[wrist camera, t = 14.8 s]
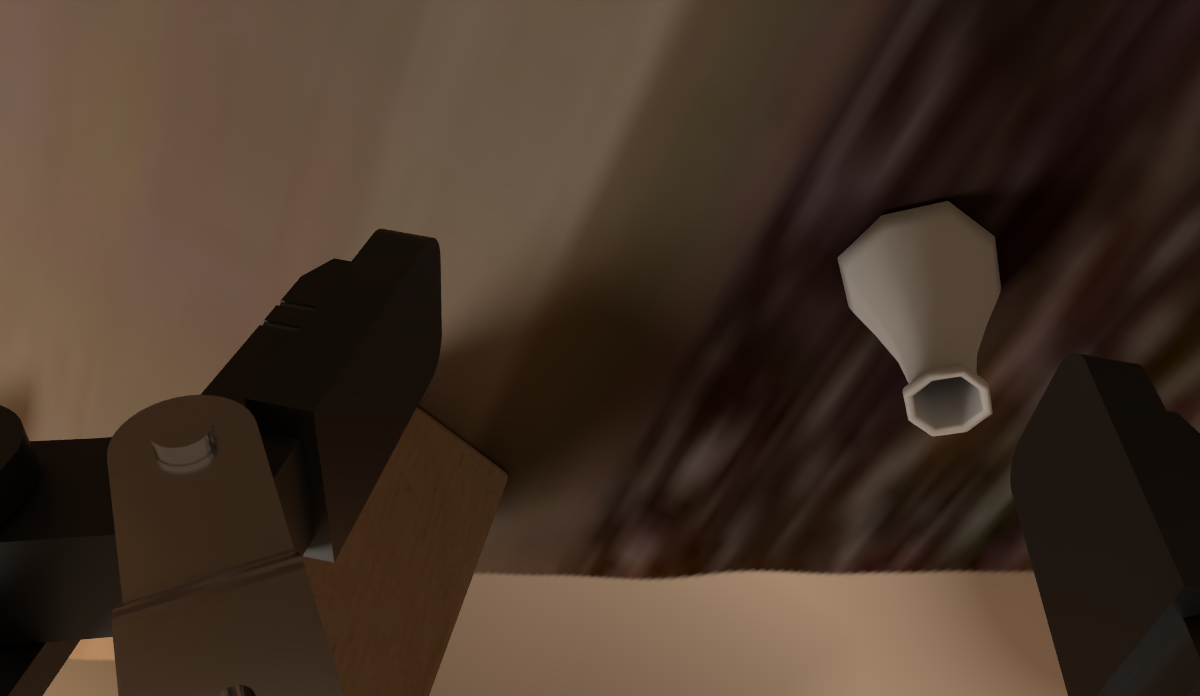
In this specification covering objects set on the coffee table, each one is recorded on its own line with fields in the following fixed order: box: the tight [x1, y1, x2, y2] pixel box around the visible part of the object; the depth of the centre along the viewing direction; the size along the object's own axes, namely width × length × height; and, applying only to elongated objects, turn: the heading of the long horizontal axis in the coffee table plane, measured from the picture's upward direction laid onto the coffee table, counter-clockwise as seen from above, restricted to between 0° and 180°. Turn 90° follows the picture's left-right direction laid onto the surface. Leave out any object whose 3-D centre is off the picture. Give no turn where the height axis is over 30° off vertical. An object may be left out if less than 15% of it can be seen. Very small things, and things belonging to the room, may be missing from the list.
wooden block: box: [302, 407, 508, 696], centre depth 48 cm, size 10×10×20 cm
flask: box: [838, 201, 1001, 436], centre depth 37 cm, size 7×7×10 cm
